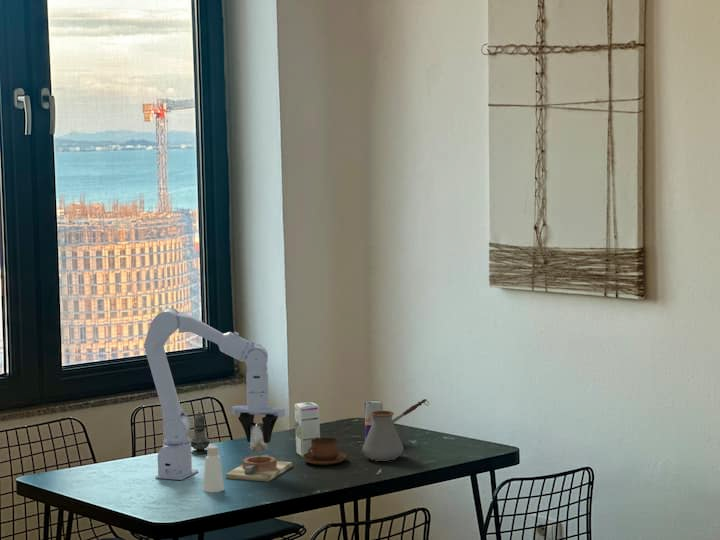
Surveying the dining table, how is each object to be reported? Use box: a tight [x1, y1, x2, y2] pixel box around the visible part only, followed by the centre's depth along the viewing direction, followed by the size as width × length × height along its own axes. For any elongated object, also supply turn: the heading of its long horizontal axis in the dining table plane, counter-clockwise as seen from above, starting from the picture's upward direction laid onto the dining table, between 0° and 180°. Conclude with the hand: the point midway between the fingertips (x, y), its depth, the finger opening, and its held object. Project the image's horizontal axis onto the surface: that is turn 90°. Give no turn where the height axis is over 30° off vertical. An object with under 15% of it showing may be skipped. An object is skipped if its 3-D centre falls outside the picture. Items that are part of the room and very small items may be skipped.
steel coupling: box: [249, 422, 268, 452], centre depth 301 cm, size 4×4×7 cm
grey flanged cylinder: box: [191, 411, 211, 456], centre depth 325 cm, size 6×6×12 cm
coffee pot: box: [362, 398, 430, 462], centre depth 317 cm, size 21×12×15 cm, turn 123°
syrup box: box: [294, 401, 321, 458], centre depth 320 cm, size 6×6×14 cm
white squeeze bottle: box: [202, 445, 225, 494], centre depth 285 cm, size 5×5×11 cm
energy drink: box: [364, 399, 384, 441], centre depth 335 cm, size 5×5×12 cm
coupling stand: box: [225, 454, 293, 482], centre depth 302 cm, size 16×12×3 cm
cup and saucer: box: [302, 437, 347, 466], centre depth 312 cm, size 12×12×6 cm
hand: (258, 441), depth 301 cm, fingers closed on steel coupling, 4 cm apart
